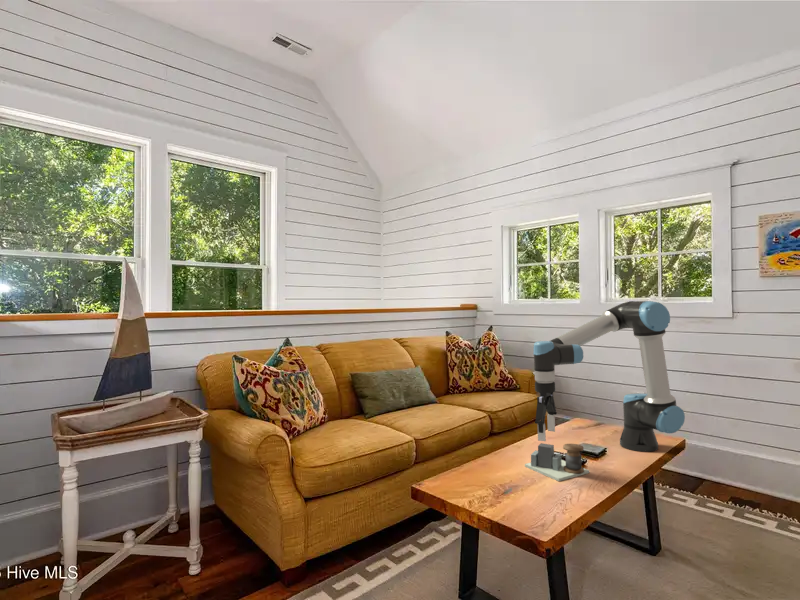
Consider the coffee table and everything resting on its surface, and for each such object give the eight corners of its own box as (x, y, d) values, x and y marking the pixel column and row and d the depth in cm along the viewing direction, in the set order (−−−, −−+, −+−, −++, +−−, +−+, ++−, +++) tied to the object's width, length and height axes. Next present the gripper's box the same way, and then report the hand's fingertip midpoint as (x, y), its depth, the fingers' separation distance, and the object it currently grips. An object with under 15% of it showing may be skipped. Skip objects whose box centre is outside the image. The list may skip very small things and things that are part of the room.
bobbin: (572, 465, 185) (572, 442, 185) (588, 471, 179) (587, 447, 179) (559, 469, 182) (559, 445, 182) (574, 475, 176) (574, 450, 176)
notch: (535, 461, 191) (535, 450, 191) (561, 465, 185) (561, 454, 185) (531, 466, 186) (530, 454, 186) (557, 470, 180) (557, 459, 180)
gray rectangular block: (541, 463, 188) (540, 443, 188) (554, 465, 186) (553, 445, 186) (538, 466, 185) (537, 446, 185) (551, 468, 182) (551, 447, 182)
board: (554, 459, 196) (554, 456, 196) (589, 472, 180) (589, 470, 180) (524, 466, 188) (524, 463, 188) (558, 481, 173) (558, 478, 173)
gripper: (543, 375, 198) (545, 426, 198) (525, 386, 177) (527, 443, 177) (562, 376, 194) (564, 428, 194) (545, 388, 173) (547, 446, 173)
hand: (546, 435), depth 185 cm, fingers open, 13 cm apart
